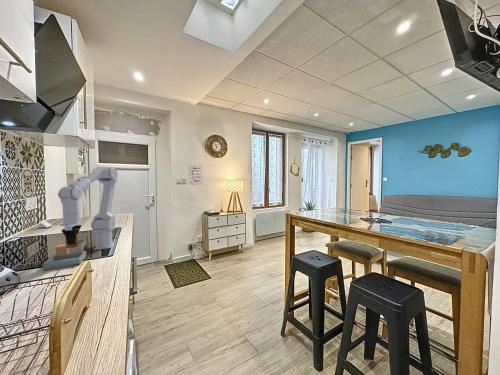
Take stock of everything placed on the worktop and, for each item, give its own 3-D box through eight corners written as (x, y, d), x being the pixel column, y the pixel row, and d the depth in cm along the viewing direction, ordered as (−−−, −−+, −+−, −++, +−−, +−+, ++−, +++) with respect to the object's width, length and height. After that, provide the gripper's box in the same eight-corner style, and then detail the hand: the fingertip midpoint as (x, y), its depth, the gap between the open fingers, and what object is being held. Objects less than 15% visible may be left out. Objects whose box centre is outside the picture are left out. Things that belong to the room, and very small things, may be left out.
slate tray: (54, 261, 96) (53, 255, 96) (86, 256, 101) (86, 250, 101) (43, 270, 86) (42, 264, 86) (79, 265, 91) (79, 258, 91)
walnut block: (79, 244, 97) (78, 233, 97) (77, 246, 94) (77, 235, 94) (67, 245, 95) (67, 235, 95) (65, 248, 92) (65, 237, 92)
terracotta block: (59, 254, 104) (58, 244, 104) (69, 253, 106) (69, 243, 105) (56, 257, 100) (55, 247, 100) (66, 256, 102) (66, 245, 102)
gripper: (63, 211, 98) (65, 240, 99) (54, 216, 86) (56, 249, 86) (82, 210, 102) (84, 238, 102) (76, 214, 89) (78, 246, 90)
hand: (72, 243), depth 95 cm, fingers closed on walnut block, 4 cm apart
